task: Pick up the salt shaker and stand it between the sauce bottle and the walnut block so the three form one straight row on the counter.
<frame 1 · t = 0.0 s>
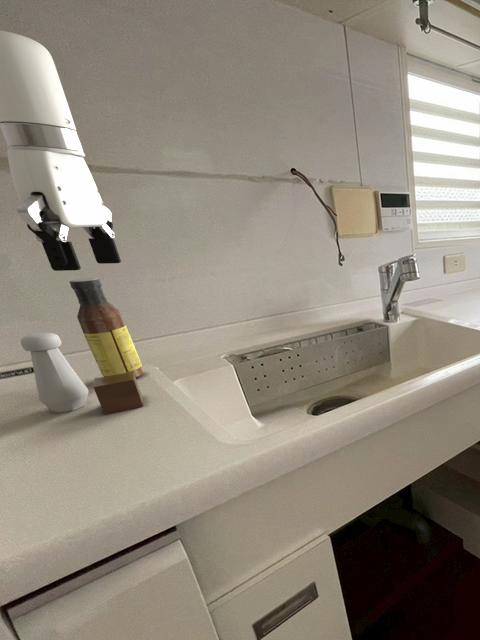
hand: (89, 266, 63), 23 cm above the countertop, tool pointing down, fingers open, 9 cm apart
salt shaker: (70, 408, 69), on the countertop
sauce bottle: (124, 379, 82), on the countertop
walnut block: (124, 405, 70), on the countertop
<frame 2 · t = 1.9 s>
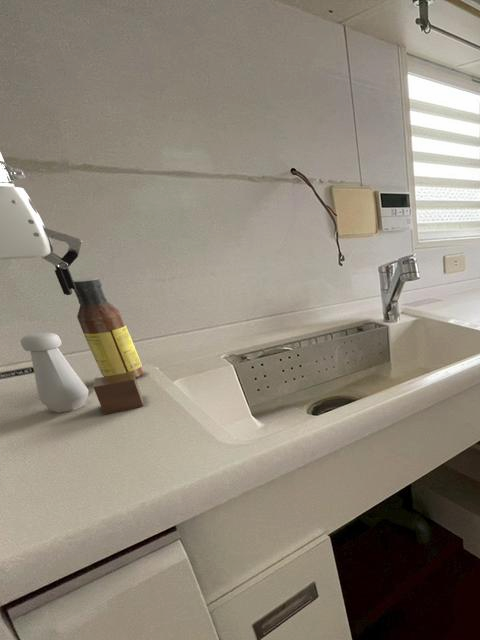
hand: (25, 297, 62), 19 cm above the countertop, tool pointing down, fingers open, 9 cm apart
nothing on the countertop moved.
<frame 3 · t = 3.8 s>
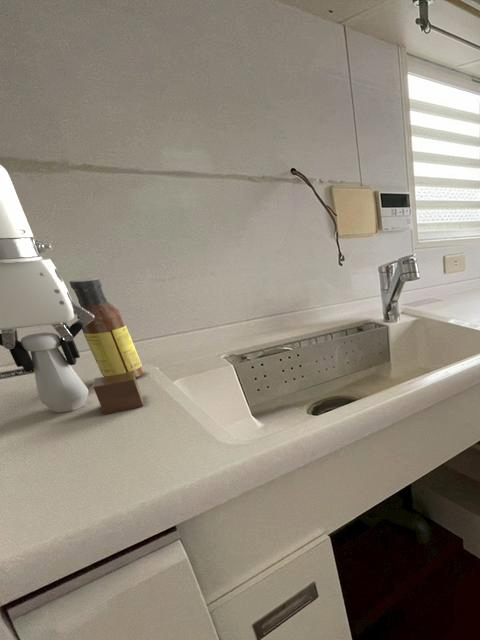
hand: (51, 365, 66), 8 cm above the countertop, tool pointing down, fingers closed on salt shaker, 4 cm apart
salt shaker: (70, 408, 69), on the countertop, touching gripper
everything else where it was.
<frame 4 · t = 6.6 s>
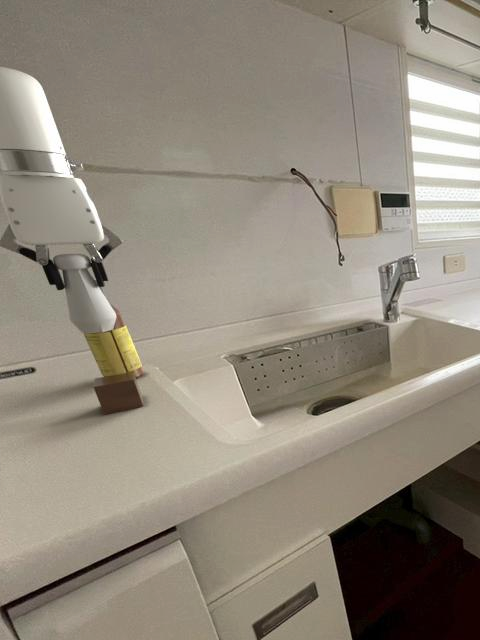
hand: (81, 286, 68), 20 cm above the countertop, tool pointing down, fingers closed on salt shaker, 4 cm apart
salt shaker: (99, 331, 71), point 12 cm above the countertop, touching gripper
everything else where it was.
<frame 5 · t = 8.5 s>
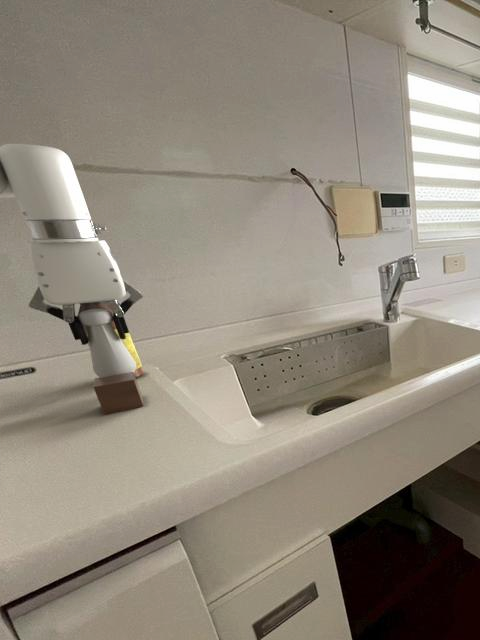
hand: (104, 339, 72), 10 cm above the countertop, tool pointing down, fingers closed on salt shaker, 4 cm apart
salt shaker: (120, 380, 75), point 2 cm above the countertop, touching gripper
everything else where it was.
when the fingers open (8 cm above the countertop, at t = 9.6 s): salt shaker stays where it is, on the countertop.
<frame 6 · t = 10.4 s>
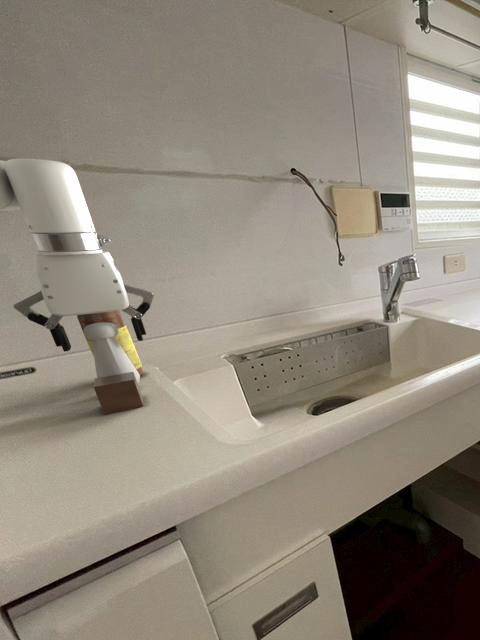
hand: (105, 344, 72), 9 cm above the countertop, tool pointing down, fingers open, 9 cm apart
salt shaker: (124, 392, 76), on the countertop
everything else where it was.
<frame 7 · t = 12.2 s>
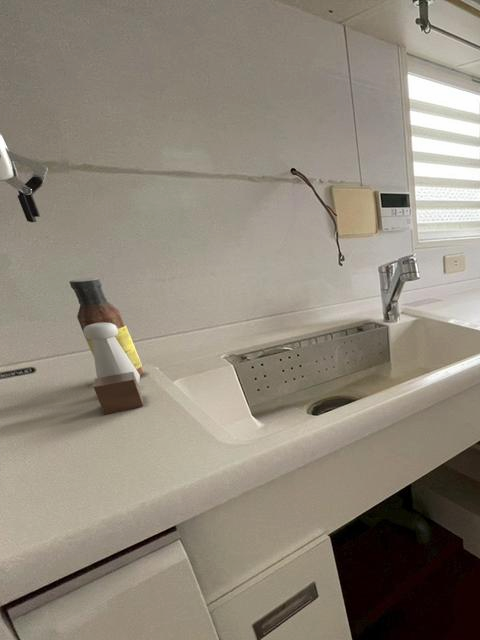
nothing on the countertop moved.
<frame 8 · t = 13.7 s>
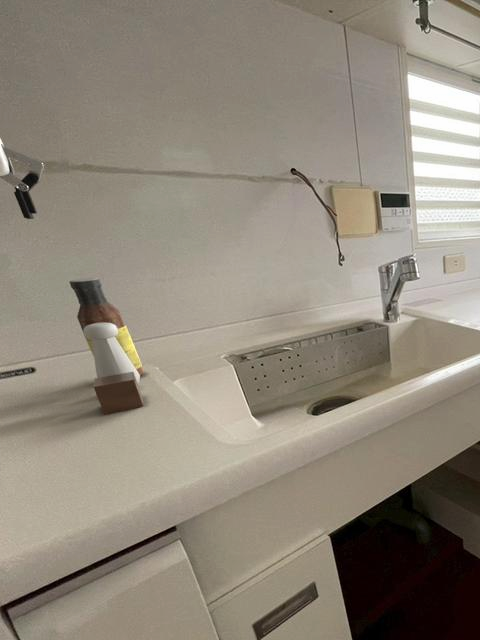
nothing on the countertop moved.
at the end: salt shaker 0.0 cm from the target spot, on the countertop; salt shaker tilted 0°; sauce bottle moved 0.2 cm from its start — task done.
